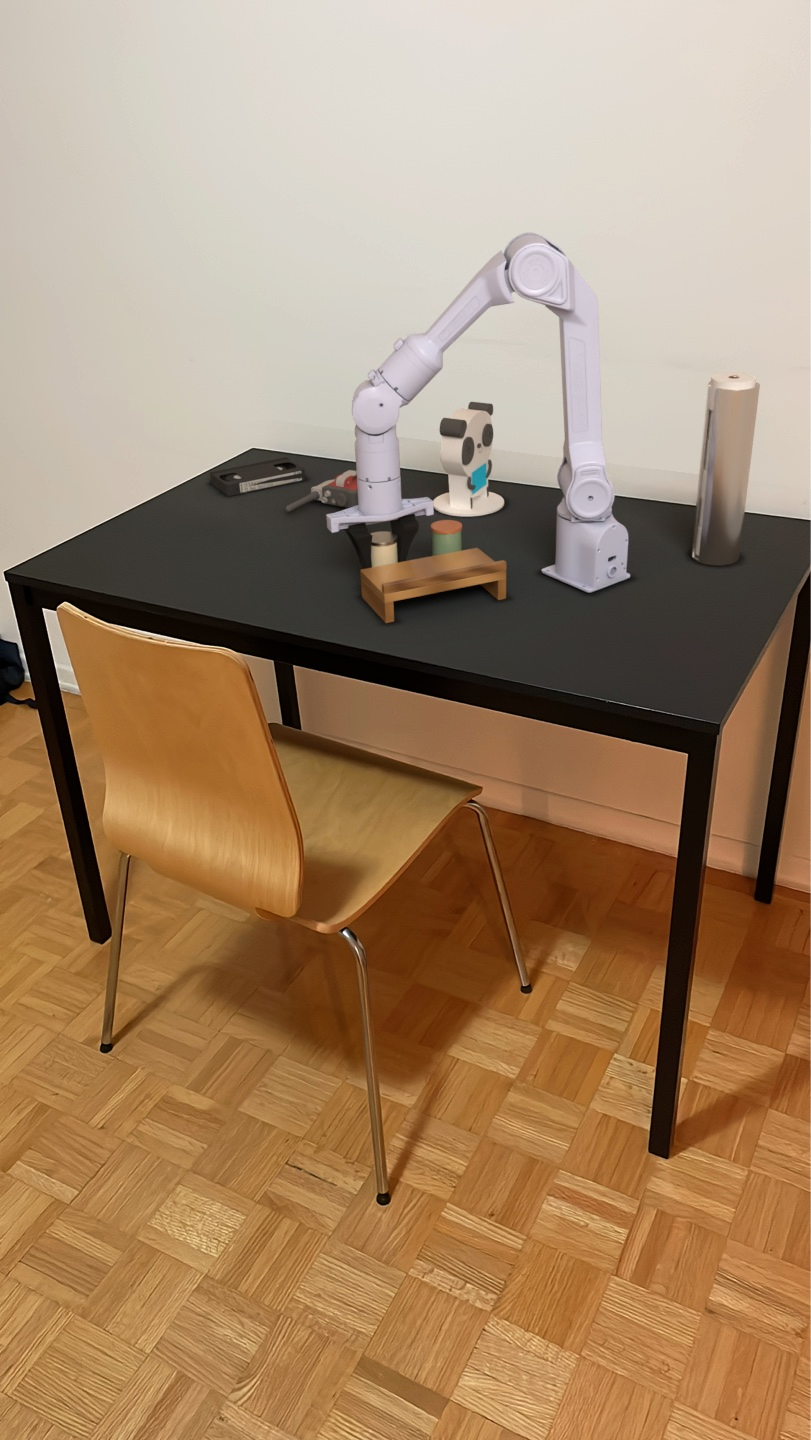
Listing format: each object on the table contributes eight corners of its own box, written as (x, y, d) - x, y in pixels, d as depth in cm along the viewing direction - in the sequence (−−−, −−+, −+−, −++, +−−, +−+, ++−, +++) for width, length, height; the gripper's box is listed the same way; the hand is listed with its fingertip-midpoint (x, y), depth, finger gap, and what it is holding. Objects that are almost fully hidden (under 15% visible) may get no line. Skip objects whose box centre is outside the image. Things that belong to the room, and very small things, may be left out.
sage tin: (469, 569, 158) (468, 525, 155) (444, 578, 156) (443, 533, 153) (449, 561, 161) (448, 517, 158) (425, 568, 159) (424, 525, 156)
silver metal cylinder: (740, 567, 155) (762, 382, 143) (691, 565, 157) (709, 381, 144) (737, 549, 161) (759, 370, 148) (690, 547, 162) (708, 369, 149)
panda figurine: (483, 521, 174) (483, 424, 166) (418, 511, 179) (415, 416, 171) (515, 497, 183) (516, 404, 175) (452, 488, 188) (451, 397, 180)
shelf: (477, 574, 157) (477, 538, 154) (506, 598, 149) (506, 561, 147) (361, 597, 152) (359, 560, 149) (385, 623, 144) (383, 585, 142)
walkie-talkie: (354, 479, 194) (282, 516, 179) (352, 454, 191) (279, 489, 177) (397, 487, 189) (327, 525, 175) (396, 461, 187) (324, 498, 173)
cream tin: (405, 582, 155) (403, 537, 152) (380, 590, 153) (377, 545, 150) (387, 572, 158) (385, 528, 155) (362, 581, 156) (359, 536, 153)
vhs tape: (227, 496, 189) (226, 484, 188) (211, 483, 195) (209, 472, 194) (305, 480, 194) (304, 468, 193) (287, 468, 200) (286, 457, 199)
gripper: (418, 458, 154) (421, 552, 160) (316, 475, 149) (324, 571, 156) (438, 473, 148) (441, 570, 155) (333, 491, 143) (340, 590, 150)
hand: (383, 572), depth 155 cm, fingers closed on cream tin, 4 cm apart
